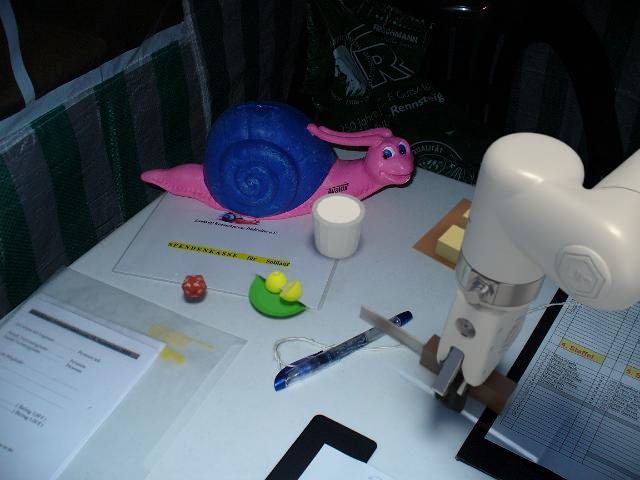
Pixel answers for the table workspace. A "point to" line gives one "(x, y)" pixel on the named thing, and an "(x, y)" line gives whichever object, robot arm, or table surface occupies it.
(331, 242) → the white ramekin
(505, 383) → the knife
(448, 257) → the butter
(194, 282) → the die
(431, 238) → the cutting board
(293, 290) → the green and yellow piece
